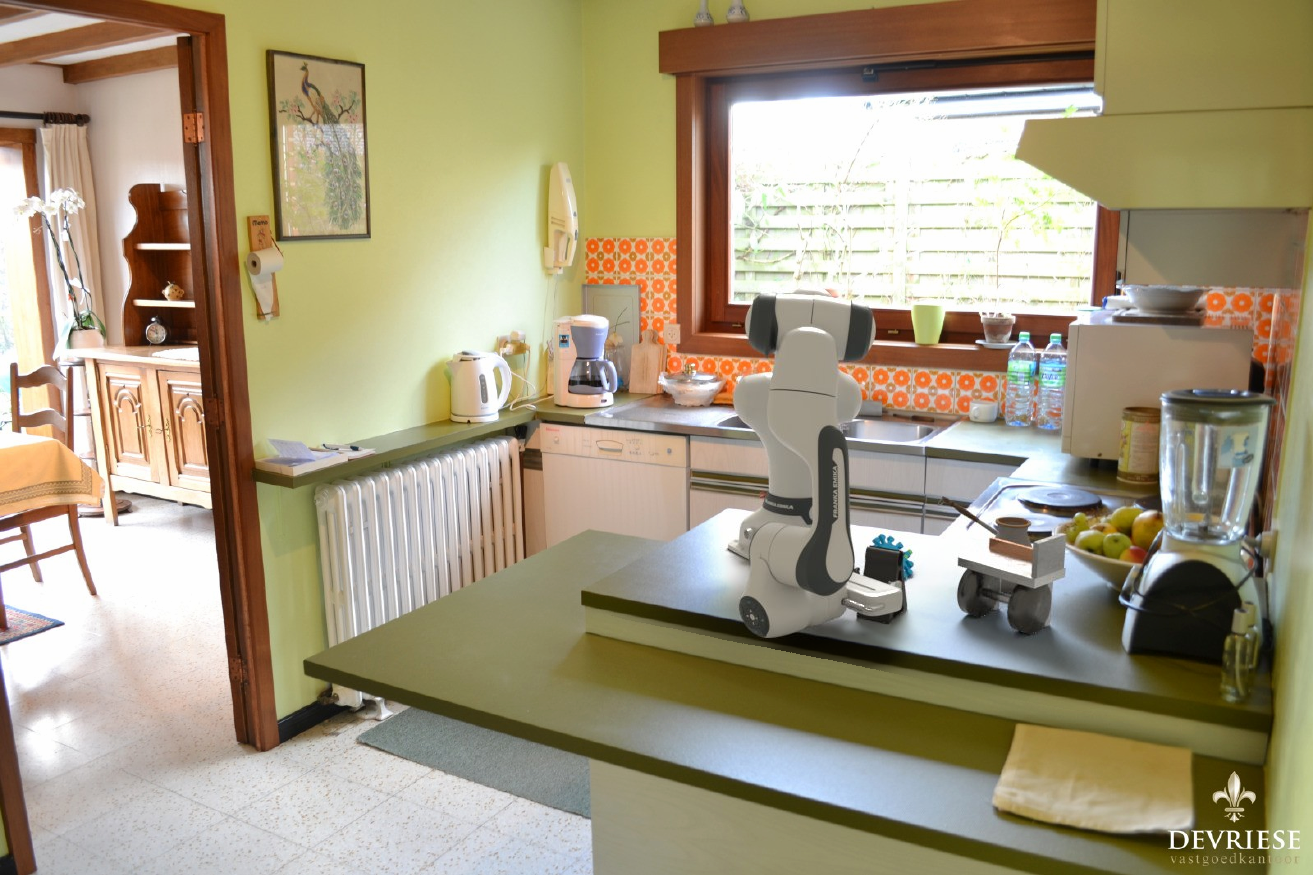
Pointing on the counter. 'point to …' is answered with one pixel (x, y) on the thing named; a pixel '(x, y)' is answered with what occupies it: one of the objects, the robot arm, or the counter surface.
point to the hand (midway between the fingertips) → (877, 577)
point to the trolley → (1013, 580)
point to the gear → (906, 563)
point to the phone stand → (885, 575)
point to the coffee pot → (1001, 533)
